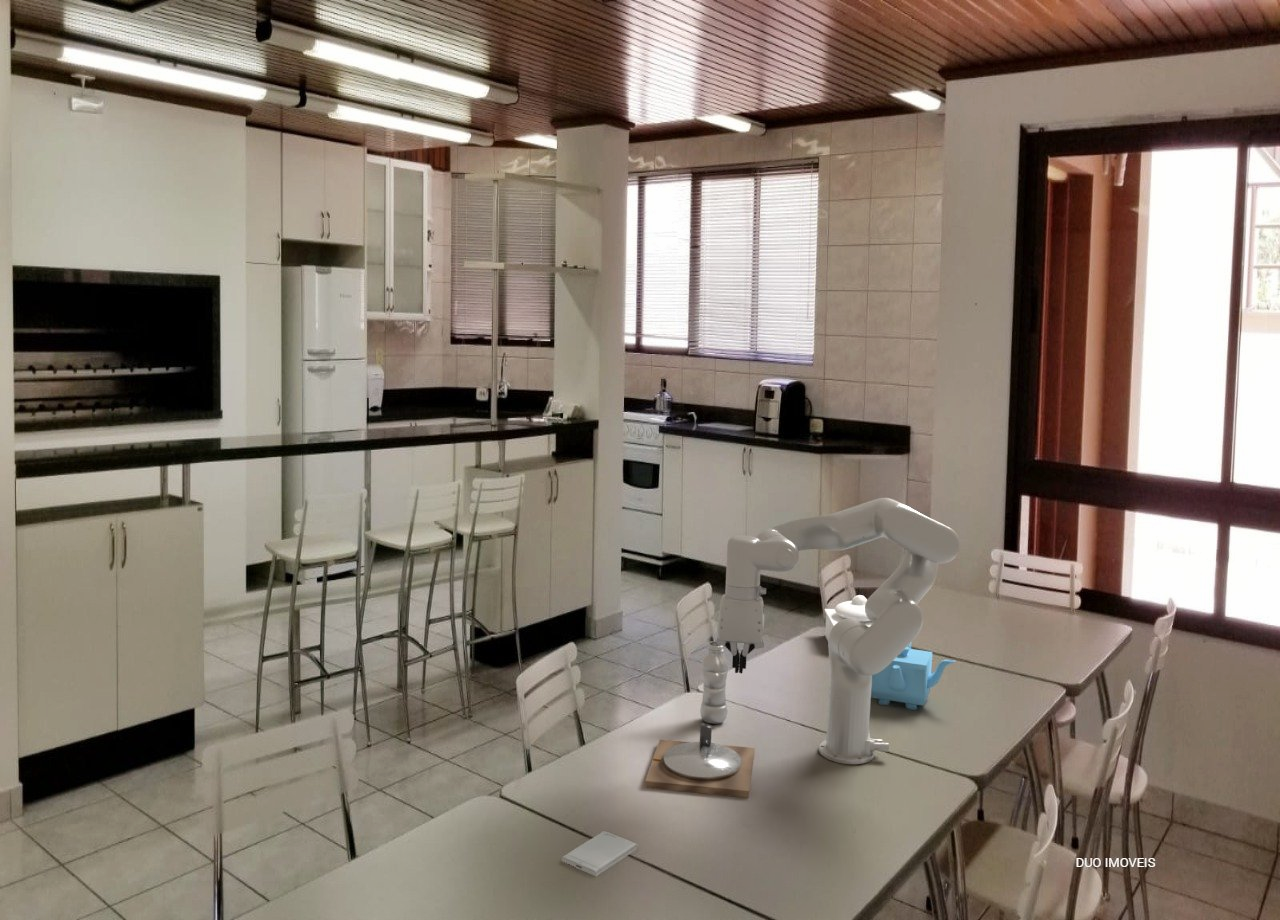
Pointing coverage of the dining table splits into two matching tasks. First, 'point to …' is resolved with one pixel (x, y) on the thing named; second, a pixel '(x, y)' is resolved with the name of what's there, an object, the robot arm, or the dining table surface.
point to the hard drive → (599, 853)
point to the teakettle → (907, 678)
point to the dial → (702, 758)
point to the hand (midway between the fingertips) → (739, 671)
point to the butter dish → (847, 613)
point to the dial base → (726, 786)
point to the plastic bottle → (714, 685)
